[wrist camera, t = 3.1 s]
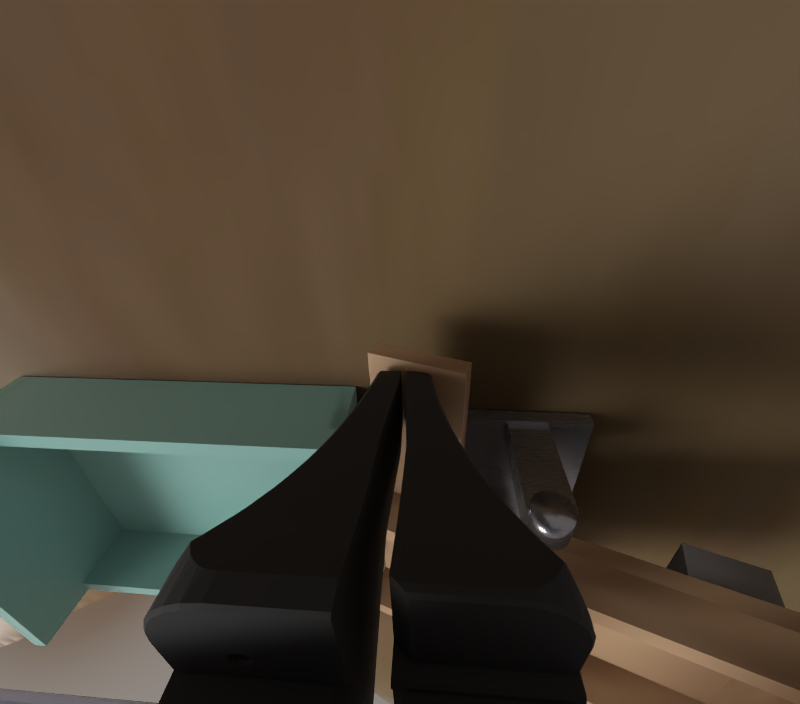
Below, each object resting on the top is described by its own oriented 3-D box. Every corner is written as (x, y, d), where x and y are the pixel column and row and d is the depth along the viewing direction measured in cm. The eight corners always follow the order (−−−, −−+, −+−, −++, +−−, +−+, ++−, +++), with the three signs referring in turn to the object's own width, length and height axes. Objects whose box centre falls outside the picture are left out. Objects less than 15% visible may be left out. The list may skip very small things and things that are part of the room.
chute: (934, 415, 8) (1148, 607, 5) (710, 651, 15) (743, 803, 12) (397, 320, 13) (331, 391, 10) (404, 533, 19) (366, 618, 16)
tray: (355, 386, 16) (315, 516, 11) (373, 544, 22) (353, 675, 17) (20, 376, 17) (-157, 487, 12) (124, 527, 23) (34, 644, 18)
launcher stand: (589, 413, 15) (649, 533, 11) (548, 545, 20) (579, 665, 16) (464, 409, 16) (474, 522, 11) (454, 539, 21) (458, 653, 16)
